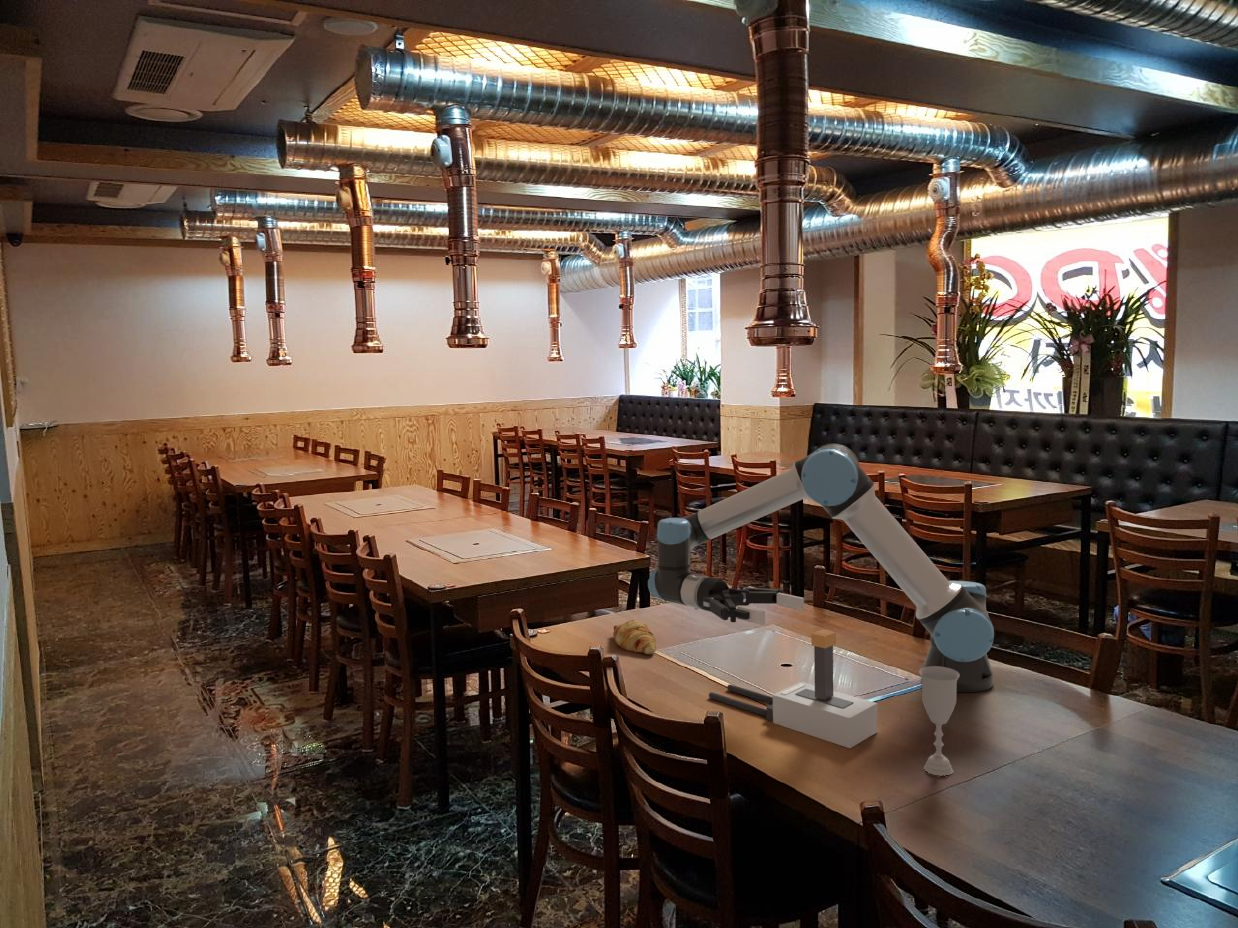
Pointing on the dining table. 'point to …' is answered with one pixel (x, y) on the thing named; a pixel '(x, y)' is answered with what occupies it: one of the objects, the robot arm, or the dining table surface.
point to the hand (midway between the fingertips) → (784, 611)
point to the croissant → (635, 637)
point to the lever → (823, 662)
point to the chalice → (939, 710)
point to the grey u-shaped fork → (745, 706)
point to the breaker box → (825, 715)
